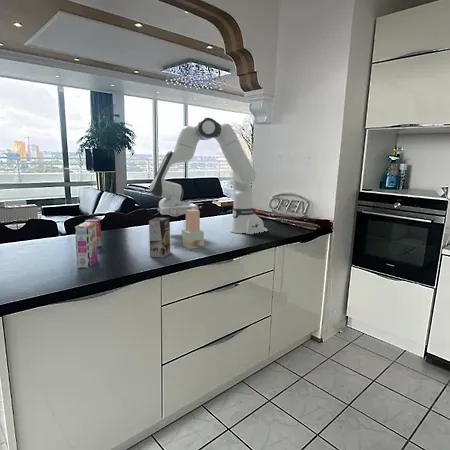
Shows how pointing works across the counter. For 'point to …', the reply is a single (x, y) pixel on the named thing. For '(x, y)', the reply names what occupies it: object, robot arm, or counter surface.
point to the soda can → (97, 230)
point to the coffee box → (159, 237)
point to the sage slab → (193, 235)
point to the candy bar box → (86, 244)
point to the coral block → (192, 220)
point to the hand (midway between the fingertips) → (184, 211)
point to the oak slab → (194, 244)
